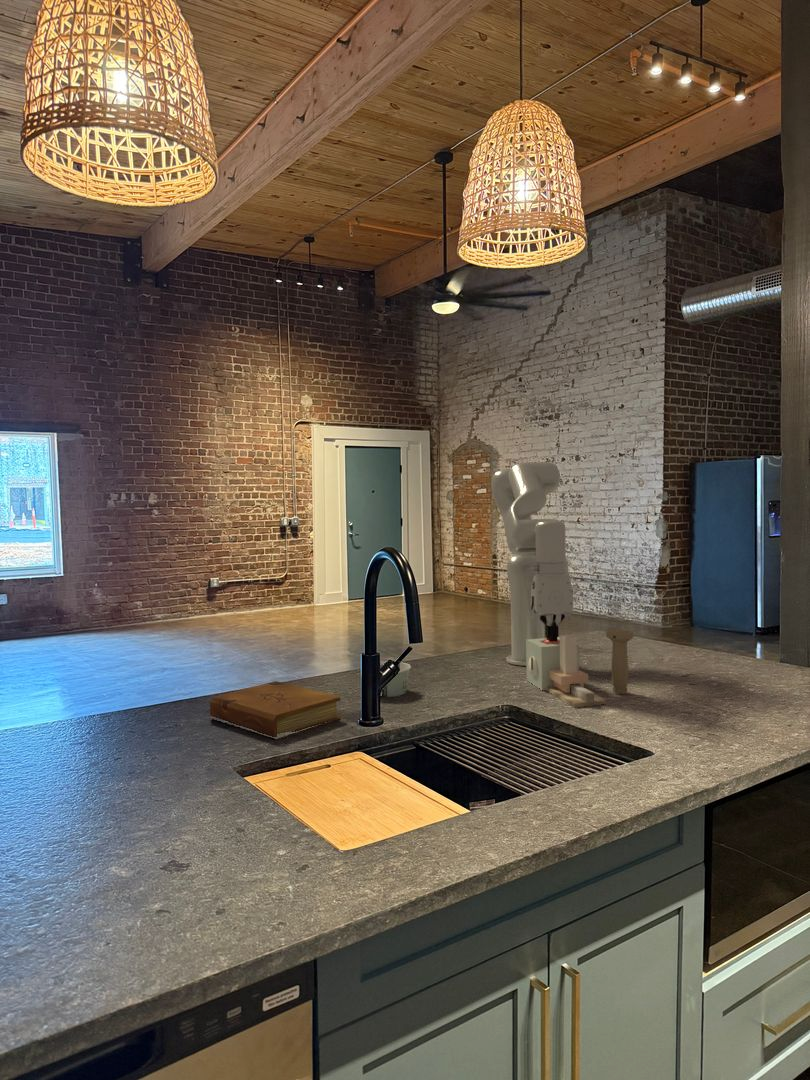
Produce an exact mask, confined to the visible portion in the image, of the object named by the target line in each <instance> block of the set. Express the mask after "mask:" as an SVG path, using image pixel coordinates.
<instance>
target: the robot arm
mask: <svg viewBox="0 0 810 1080" xmlns="http://www.w3.org/2000/svg"><path fill="white" fill-rule="evenodd" d="M560 477H561V476H560V471H559V469H558V467H557V466H556V464H555V463H553V462H550V461H533V462H532V461H529V462H528V461H527V462H525V461H524V462H519V463H516V464H514V465H513V466H512V467H511V468H505V469H501V470H498V471H496V472H495V473H493V475H492V478H491V492H492V494H491V495H492V498H493V500H494V503H495V505H496V508H497V509H498V511H499V513H500V515H501V517H502V522H503V526H504V527H503V528H504V533H505V538H506V544H507V547H508V549H509V551H510V552H511V554H513V556H511V557H510V558H509V559H508V560H507V563H506V572H507V578H508V586H509V595H510V596H509V597H510V631H511V632H510V635H511V638H510V639H511V640H510V642H511V646H510V647H511V654H509V655H507V656H506V657H505V658H506V662H507V663H508V664H510V665H516V666H523V667H524V666H525V667H526V640H528V639H542V638H547V640H549V641H557V637H560V634H559V626H560V625H561V624H562V623H561V622H563V620H565V619H567V618H570V617H571V616H572V614H573V610H574V593H573V587H572V580H571V577H570V574H569V564H568V560H567V555H566V551H567V549H566V547H567V545H566V544H567V543H566V537H567V536H566V525H565V523H564V522H563V521H562V520H558V519H555V518H543V519H542V518H541V519H539V518H537V519H535V518H534V519H532V515H535V514H536V513H538V512H540V511H541V510H542V509H543V508H544V507H545V505H546V503H547V499H548V497H547V495H549V494H551V493H553V492H555V491H556V490H557V489H558V488H559V485H560V482H561V481H560V480H561V479H560Z"/></svg>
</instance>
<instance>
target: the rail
mask: <svg viewBox="0 0 810 1080" xmlns="http://www.w3.org/2000/svg"><path fill="white" fill-rule="evenodd" d="M548 691H549V692H550V694H551V693H552V694H551V695H553V694H554V695H555V696H554V695H553V696H554V697H556V698H558V699H560V700H561V701H562V700H563V701H562V702H564V703H566V704H567V703H568V704H567V705H569V706H570V707H573V708H574V709H575V707H576V708H585V707H584V706H587V707H594V706H593V705H597V706H602V705H601V704H606V705H607V700H606V699H605V698H603V697H601V696H599V695H597V694H595V692H593V691H591V690H590V689H587V688H585V687H582V686H580V685H578V684H570V692H569V693H566V692H564V691H562V690H560V689H559V688H557V687H555V686H550V687H547V690H546V692H548ZM549 692H548V693H549Z"/></svg>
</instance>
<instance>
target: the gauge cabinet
mask: <svg viewBox="0 0 810 1080" xmlns="http://www.w3.org/2000/svg"><path fill="white" fill-rule="evenodd" d="M544 639H547V638H546V637H544V638H542V639H528V640H526V666H525V667H526V668H525V669H526V682H527V681H529V682H530V683H529V682H528V683H529V684H531V683H532V684H533V685H532V684H531V685H532V686H534V685H535V686H537V687H538V688H537V687H536V688H537V689H539V688H540V689H541V691H542V690H543V691H547V690H546V689H547V687H550V686H554V681H553V680H552V679H550V678H549V670H558V669H560V643H559V644H545V643H544ZM557 639H559V640H560V636H558V637H557ZM576 646H577V669H578V670H580V666H579V665H580V664H579V663H580V662H579V660H580V659H579V653H580V652H579V649H580V648H579V647H580V646H579V643H577V642H576ZM535 686H534V687H535ZM540 689H539V690H540Z"/></svg>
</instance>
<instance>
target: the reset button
mask: <svg viewBox="0 0 810 1080" xmlns="http://www.w3.org/2000/svg"><path fill="white" fill-rule="evenodd" d="M544 643H545V644H559V643H560V640H559V639H557V641H549V640H547V639H544Z"/></svg>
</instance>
